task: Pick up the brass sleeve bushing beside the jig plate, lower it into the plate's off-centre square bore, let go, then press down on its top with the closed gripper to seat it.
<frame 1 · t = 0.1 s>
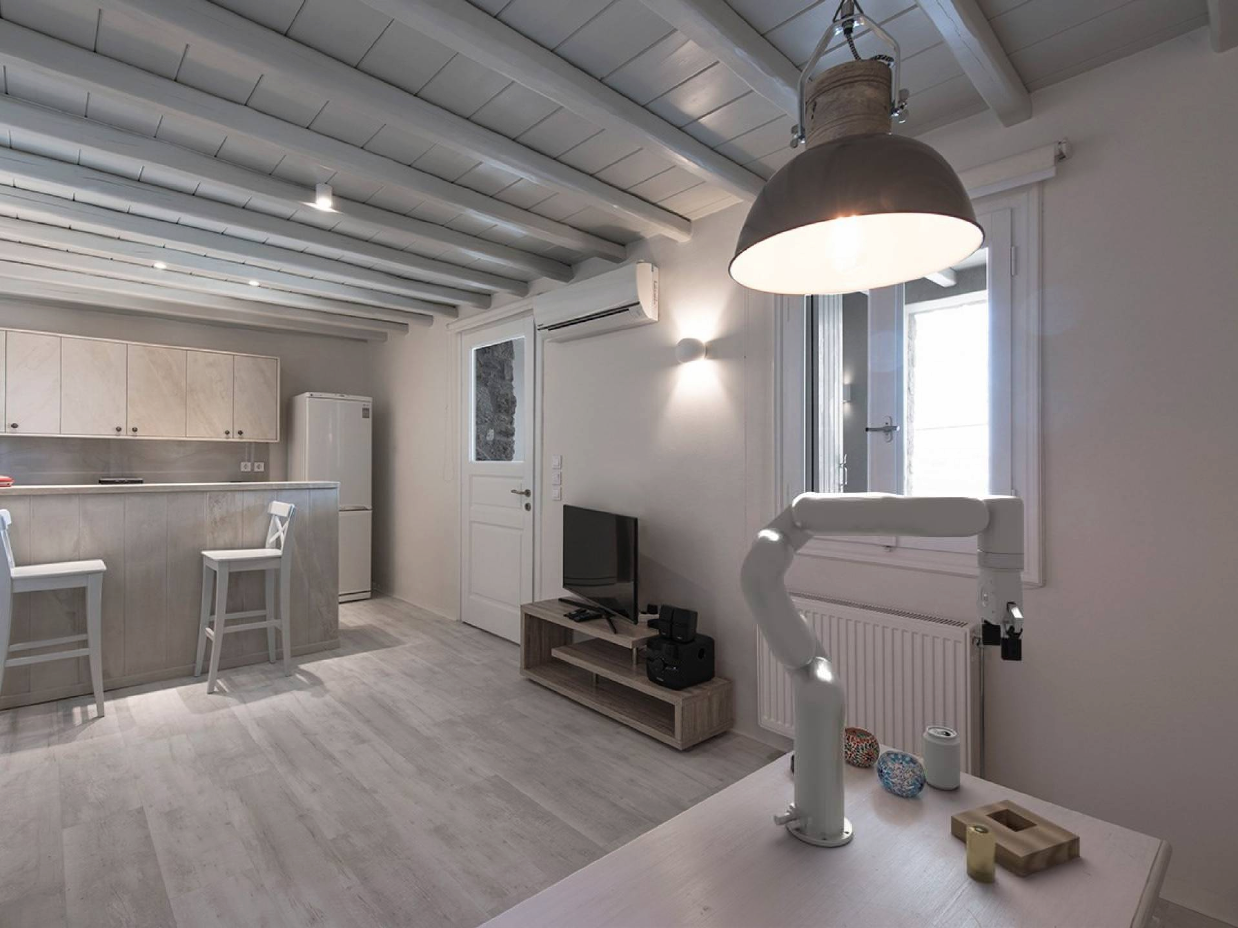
hand: (1000, 652, 117), 37 cm above the table, tool pointing down, fingers open, 9 cm apart
can: (941, 783, 141), on the table
bushing: (980, 874, 109), on the table
jig: (1013, 844, 118), on the table
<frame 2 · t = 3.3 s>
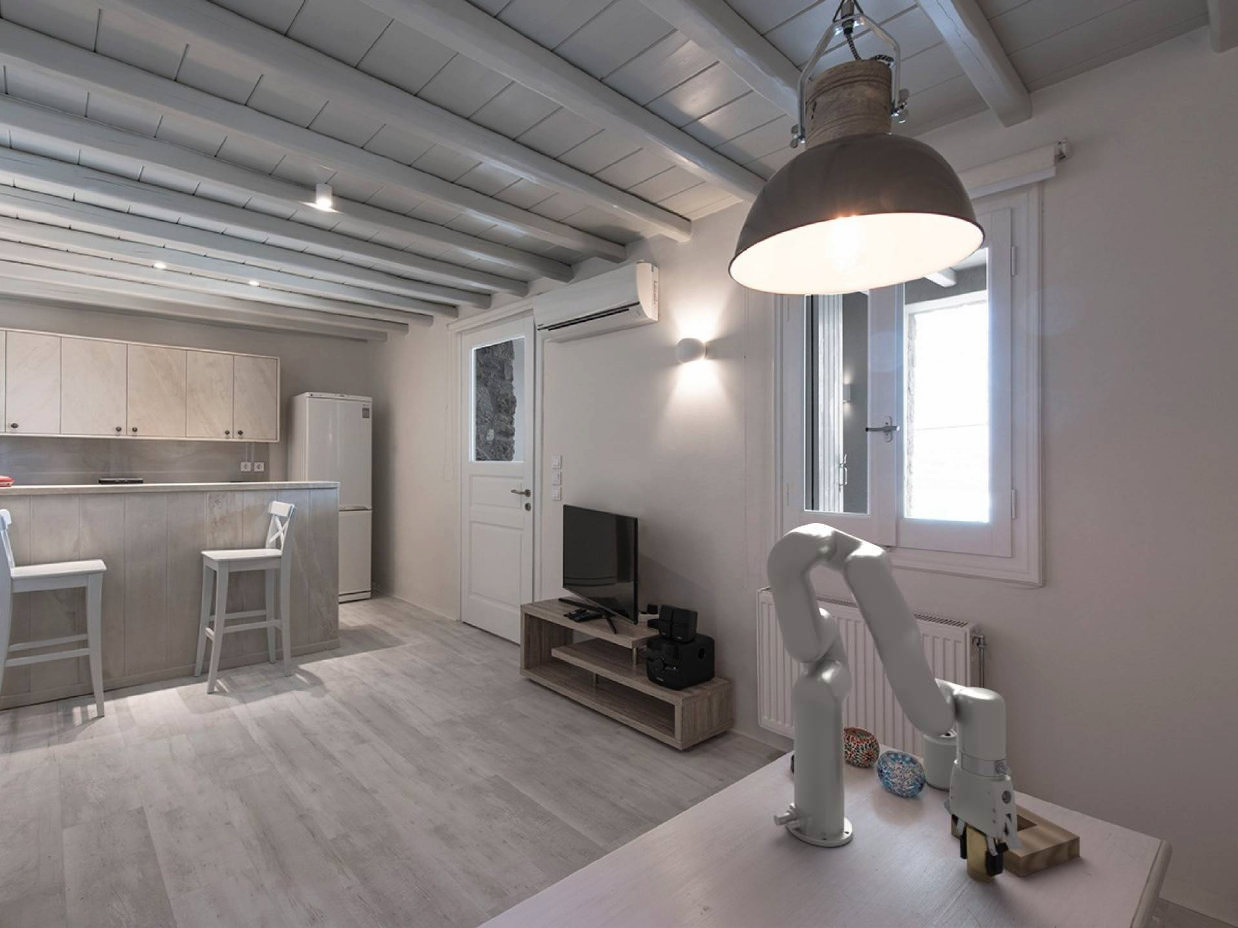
hand: (980, 864, 109), 2 cm above the table, tool pointing down, fingers closed on bushing, 4 cm apart
bushing: (980, 874, 109), on the table, touching gripper
everything else where it was.
when the fingers open (4 cm above the table, at t = 8.8 s): bushing drops 2 cm, resting in jig.
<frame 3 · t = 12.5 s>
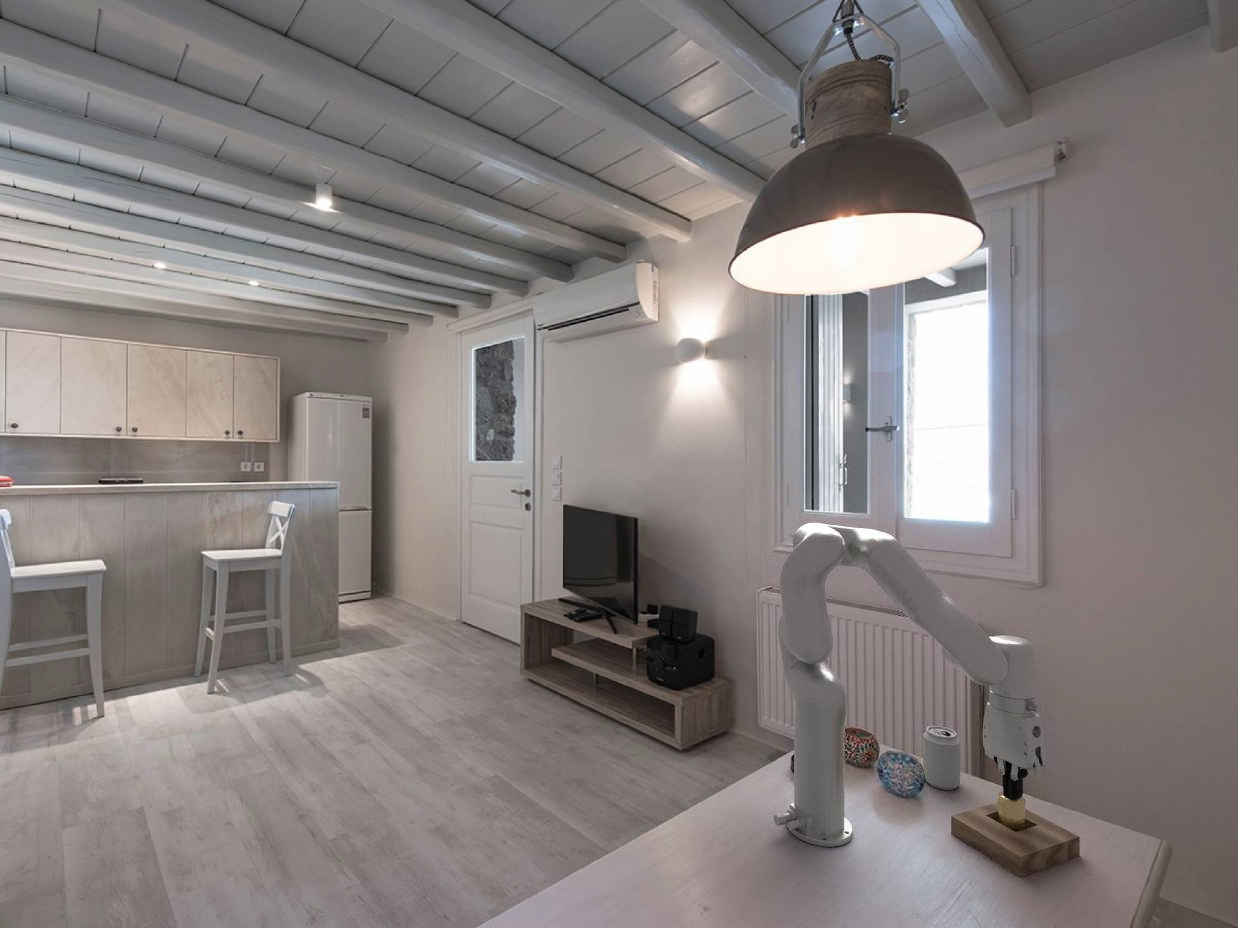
hand: (1012, 796, 120), 8 cm above the table, tool pointing down, fingers closed
bushing: (1011, 838, 120), resting in jig, touching gripper
everything else where it was.
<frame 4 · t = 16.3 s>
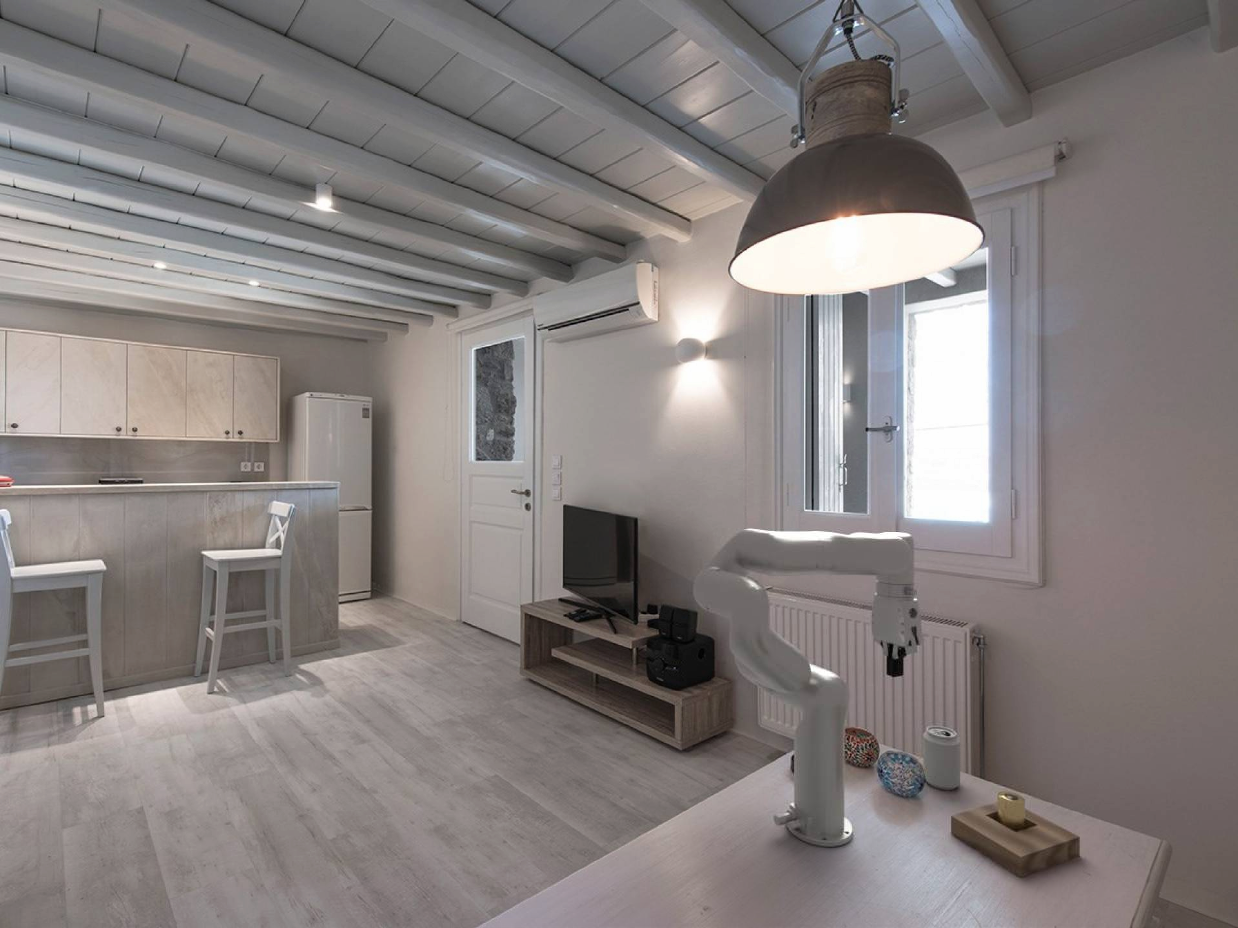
hand: (894, 675, 134), 27 cm above the table, tool pointing down, fingers closed
bushing: (1011, 838, 120), resting in jig
everything else where it was.
at the end: bushing 0.0 cm from the target spot on the jig, point 0.0 cm above the jig's base; bushing tilted 0°; the gripper is holding nothing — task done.
